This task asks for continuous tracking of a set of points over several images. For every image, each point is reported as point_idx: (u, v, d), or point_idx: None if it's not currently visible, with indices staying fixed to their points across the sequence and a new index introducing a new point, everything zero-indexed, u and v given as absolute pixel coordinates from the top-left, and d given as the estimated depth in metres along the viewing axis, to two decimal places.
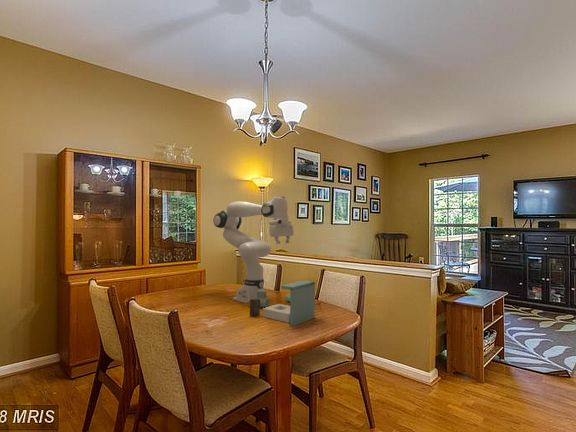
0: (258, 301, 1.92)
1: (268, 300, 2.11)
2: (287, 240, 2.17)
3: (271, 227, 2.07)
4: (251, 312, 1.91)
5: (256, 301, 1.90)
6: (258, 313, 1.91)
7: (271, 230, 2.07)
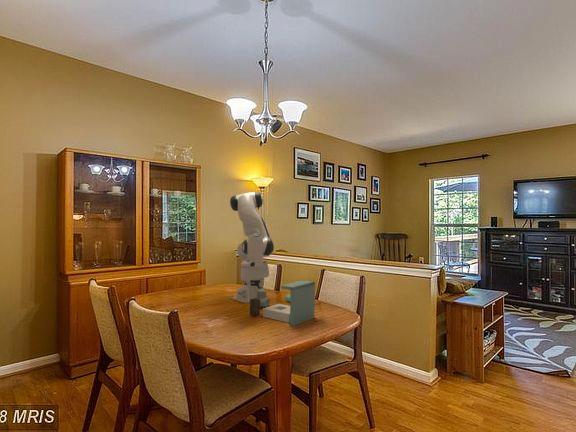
0: (259, 301, 1.92)
1: (268, 300, 2.11)
2: (261, 282, 1.95)
3: (242, 270, 1.85)
4: (251, 312, 1.91)
5: (256, 301, 1.90)
6: (258, 313, 1.91)
7: (242, 273, 1.84)
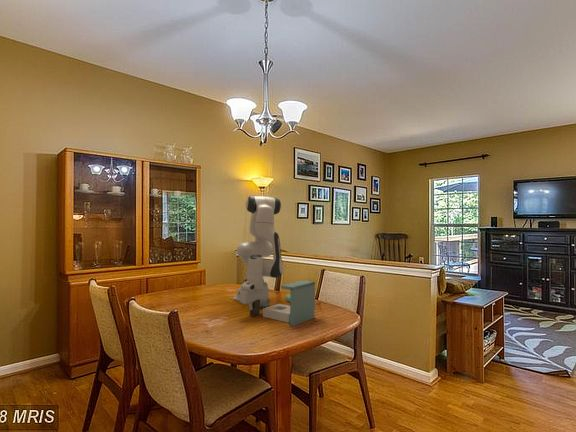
0: (259, 301, 1.92)
1: (268, 300, 2.11)
2: None
3: (242, 293, 1.85)
4: (251, 312, 1.91)
5: (256, 301, 1.90)
6: (258, 313, 1.91)
7: (242, 296, 1.84)
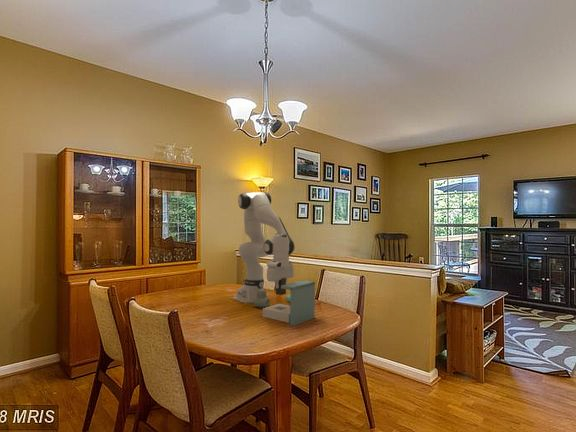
0: (285, 279, 1.91)
1: (268, 300, 2.11)
2: None
3: (269, 270, 1.84)
4: (277, 290, 1.90)
5: (282, 280, 1.89)
6: (284, 291, 1.91)
7: (269, 274, 1.84)
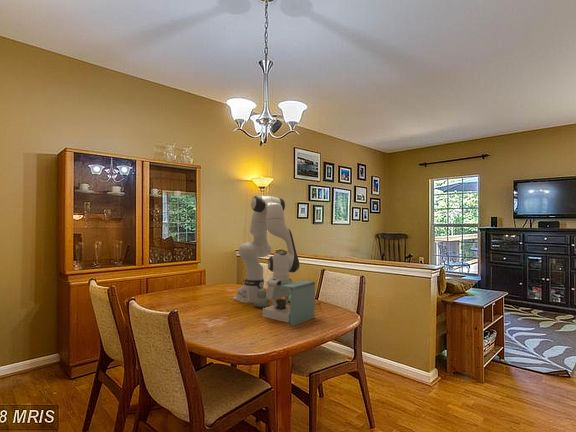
0: (284, 302, 1.91)
1: (268, 300, 2.11)
2: None
3: (269, 289, 1.84)
4: None
5: (282, 302, 1.89)
6: None
7: (268, 292, 1.84)
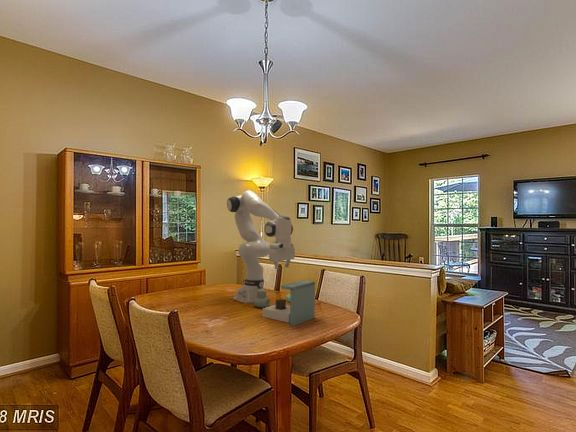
0: (284, 302, 1.91)
1: (268, 300, 2.11)
2: (287, 264, 2.01)
3: (271, 251, 1.90)
4: None
5: (282, 302, 1.89)
6: None
7: (271, 254, 1.90)
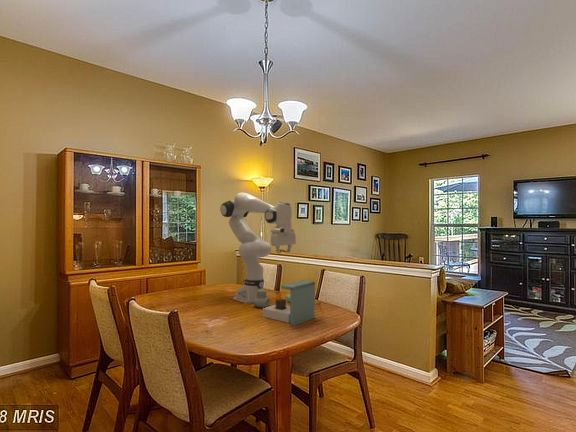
0: (284, 302, 1.91)
1: (268, 300, 2.11)
2: (288, 249, 2.06)
3: (273, 236, 1.96)
4: None
5: (282, 302, 1.89)
6: None
7: (272, 239, 1.96)
